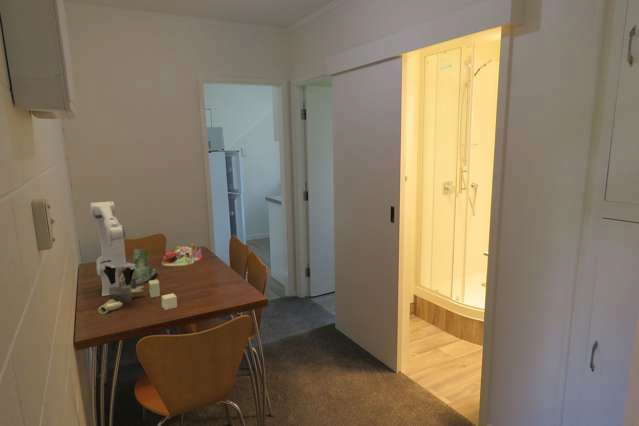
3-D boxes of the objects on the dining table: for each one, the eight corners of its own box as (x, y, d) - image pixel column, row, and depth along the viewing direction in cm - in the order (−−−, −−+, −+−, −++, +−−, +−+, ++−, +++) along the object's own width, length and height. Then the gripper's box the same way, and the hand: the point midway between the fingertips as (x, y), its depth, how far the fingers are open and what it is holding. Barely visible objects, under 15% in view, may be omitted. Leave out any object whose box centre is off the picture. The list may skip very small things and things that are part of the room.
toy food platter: (163, 257, 252) (162, 243, 250) (201, 254, 259) (201, 240, 257) (160, 268, 228) (159, 252, 227) (202, 264, 235) (201, 249, 234)
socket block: (149, 293, 186) (148, 280, 185) (158, 292, 188) (157, 279, 187) (150, 297, 181) (149, 284, 180) (160, 295, 183) (159, 283, 182)
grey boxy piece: (110, 300, 178) (109, 287, 177) (131, 297, 182) (130, 284, 181) (110, 304, 173) (109, 291, 172) (131, 300, 177) (130, 287, 176)
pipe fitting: (124, 307, 171) (108, 306, 171) (123, 299, 170) (108, 298, 170) (114, 315, 163) (98, 314, 163) (114, 306, 162) (98, 305, 162)
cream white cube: (162, 306, 170) (161, 295, 169) (173, 303, 173) (172, 293, 172) (165, 310, 166) (164, 299, 165) (177, 307, 169) (176, 296, 168)
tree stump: (105, 284, 202) (108, 247, 203) (139, 281, 220) (142, 248, 222) (129, 287, 193) (133, 249, 195) (163, 285, 211) (166, 250, 213)
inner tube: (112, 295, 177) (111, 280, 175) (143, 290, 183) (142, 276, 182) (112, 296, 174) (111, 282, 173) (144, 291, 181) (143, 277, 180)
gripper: (96, 255, 165) (99, 286, 167) (126, 257, 162) (129, 288, 164) (108, 251, 171) (111, 280, 174) (137, 252, 169) (139, 282, 171)
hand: (120, 284), depth 169 cm, fingers open, 7 cm apart
